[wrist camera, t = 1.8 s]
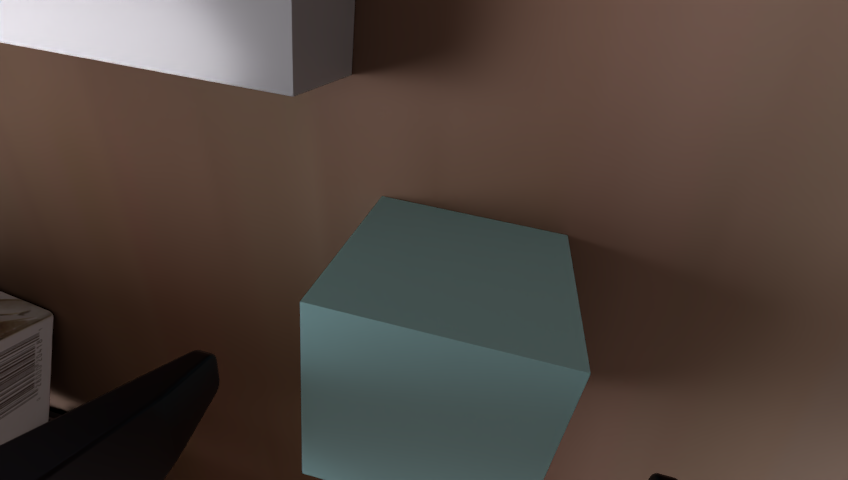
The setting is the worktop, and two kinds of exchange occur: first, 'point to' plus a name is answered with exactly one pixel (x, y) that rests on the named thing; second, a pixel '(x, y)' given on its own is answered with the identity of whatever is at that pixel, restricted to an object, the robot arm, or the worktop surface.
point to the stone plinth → (197, 37)
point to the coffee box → (24, 366)
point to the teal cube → (440, 350)
